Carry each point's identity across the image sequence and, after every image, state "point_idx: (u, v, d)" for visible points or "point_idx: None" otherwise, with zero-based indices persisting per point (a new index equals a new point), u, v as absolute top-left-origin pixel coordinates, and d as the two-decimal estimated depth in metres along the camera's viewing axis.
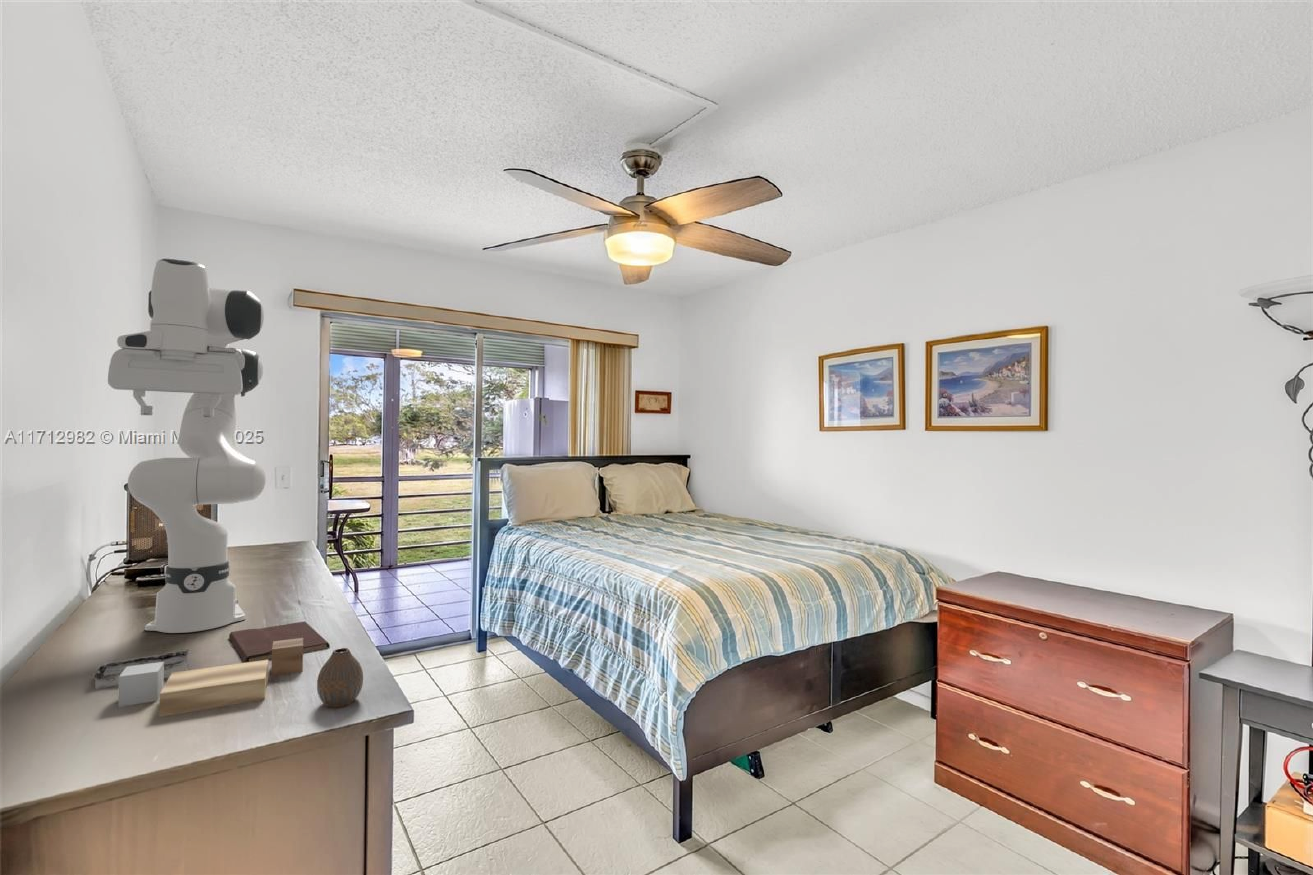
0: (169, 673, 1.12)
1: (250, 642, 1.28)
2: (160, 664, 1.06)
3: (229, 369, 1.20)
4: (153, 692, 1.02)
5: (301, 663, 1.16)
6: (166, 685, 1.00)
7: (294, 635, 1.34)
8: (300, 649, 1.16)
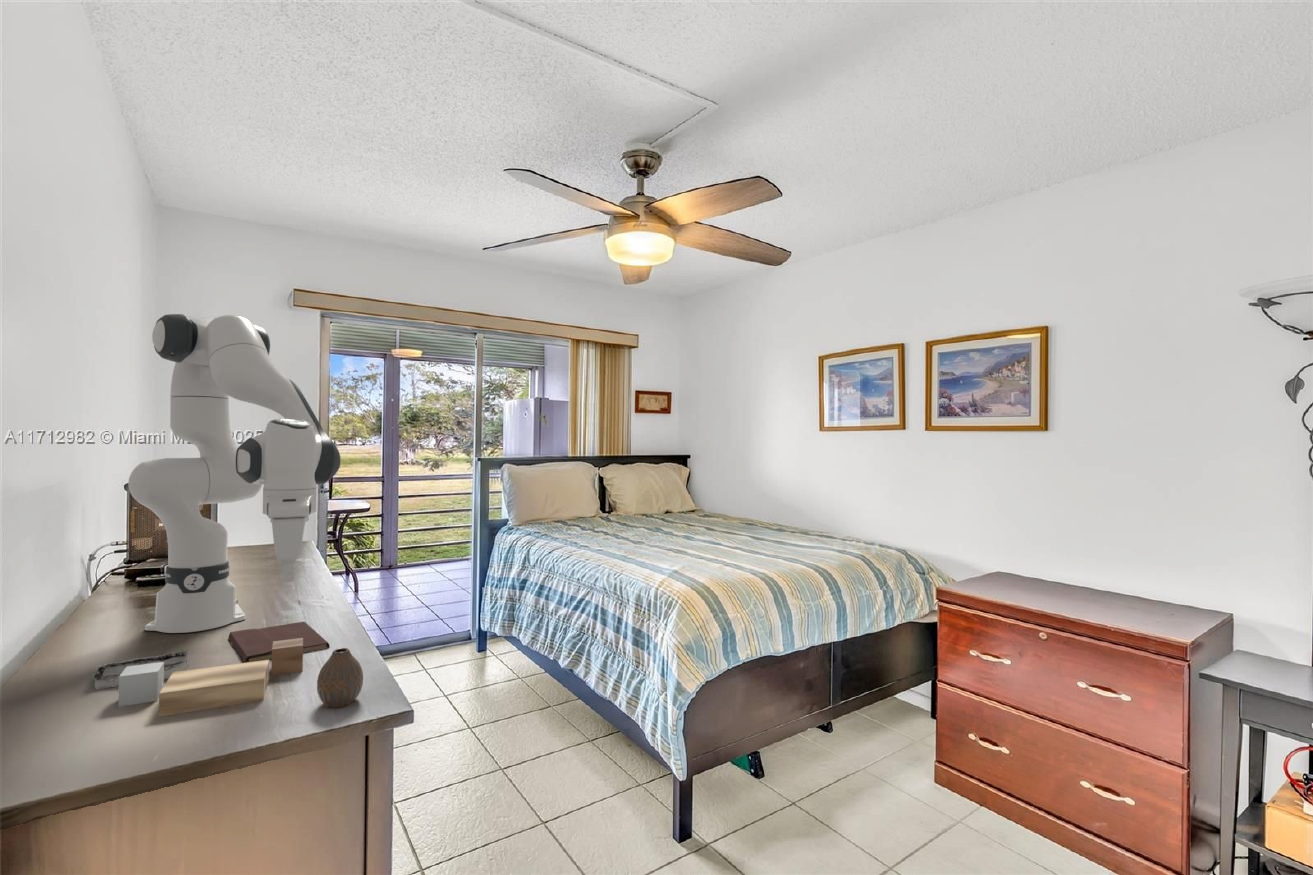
0: (169, 673, 1.12)
1: (250, 642, 1.28)
2: (160, 664, 1.06)
3: None
4: (153, 692, 1.02)
5: (301, 663, 1.16)
6: (166, 685, 1.00)
7: (294, 635, 1.34)
8: (300, 649, 1.16)
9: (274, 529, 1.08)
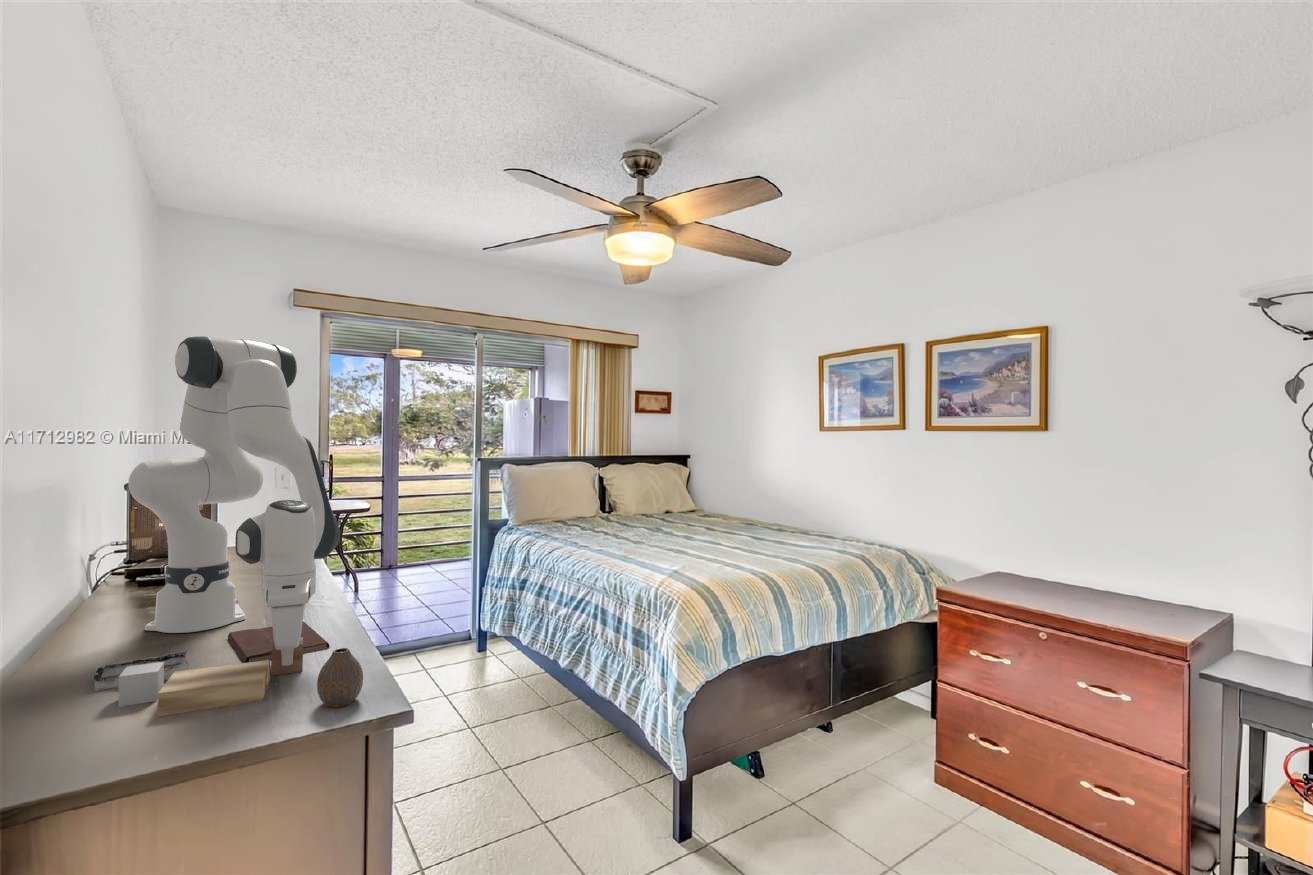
0: (169, 674, 1.12)
1: (249, 642, 1.28)
2: (160, 664, 1.06)
3: None
4: (153, 692, 1.02)
5: (301, 662, 1.16)
6: (166, 684, 1.00)
7: None
8: (300, 648, 1.16)
9: (273, 619, 1.08)
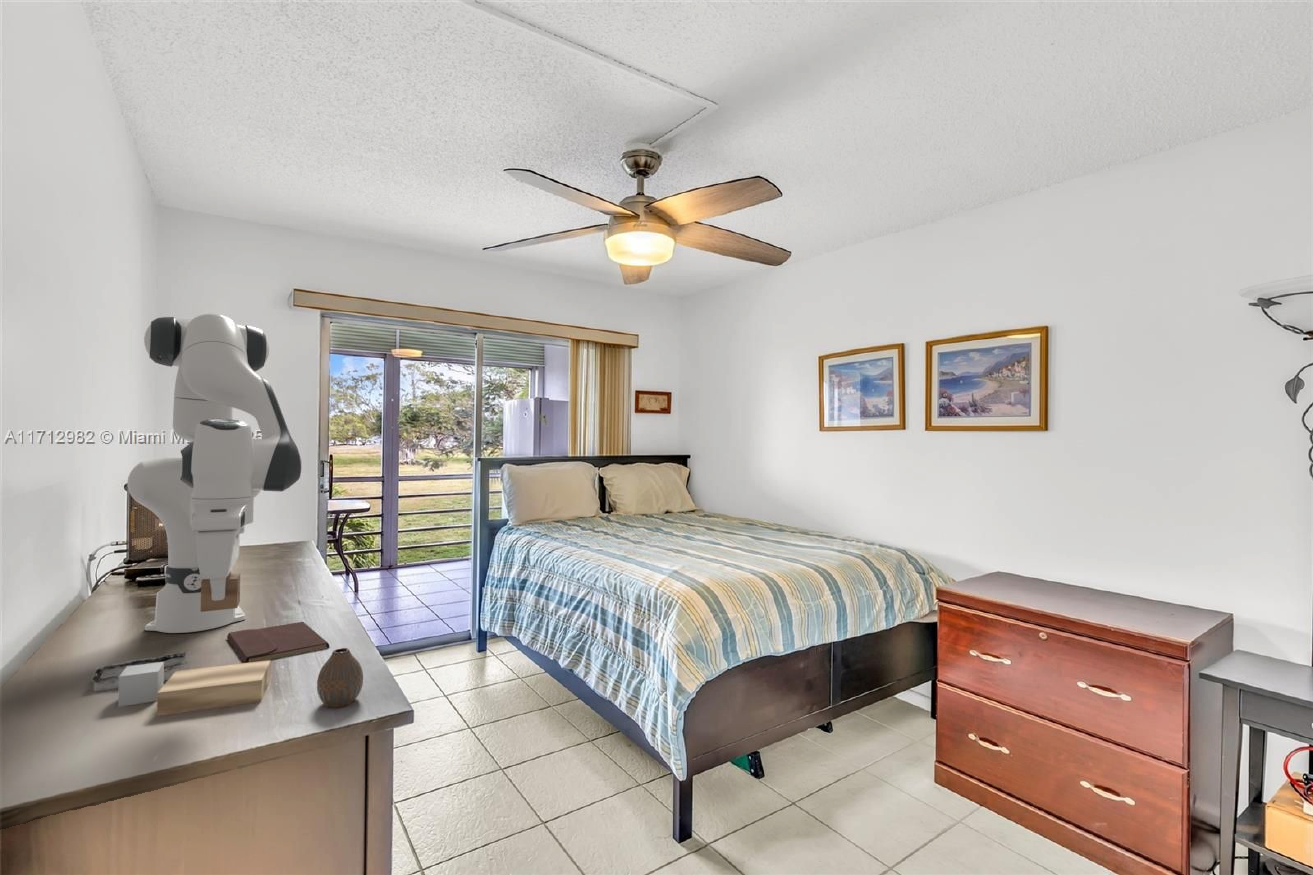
0: (169, 675, 1.11)
1: (249, 642, 1.28)
2: (160, 664, 1.06)
3: (238, 533, 1.13)
4: (153, 692, 1.02)
5: (235, 598, 1.04)
6: (166, 684, 1.01)
7: (293, 635, 1.34)
8: (235, 582, 1.04)
9: (198, 544, 0.96)
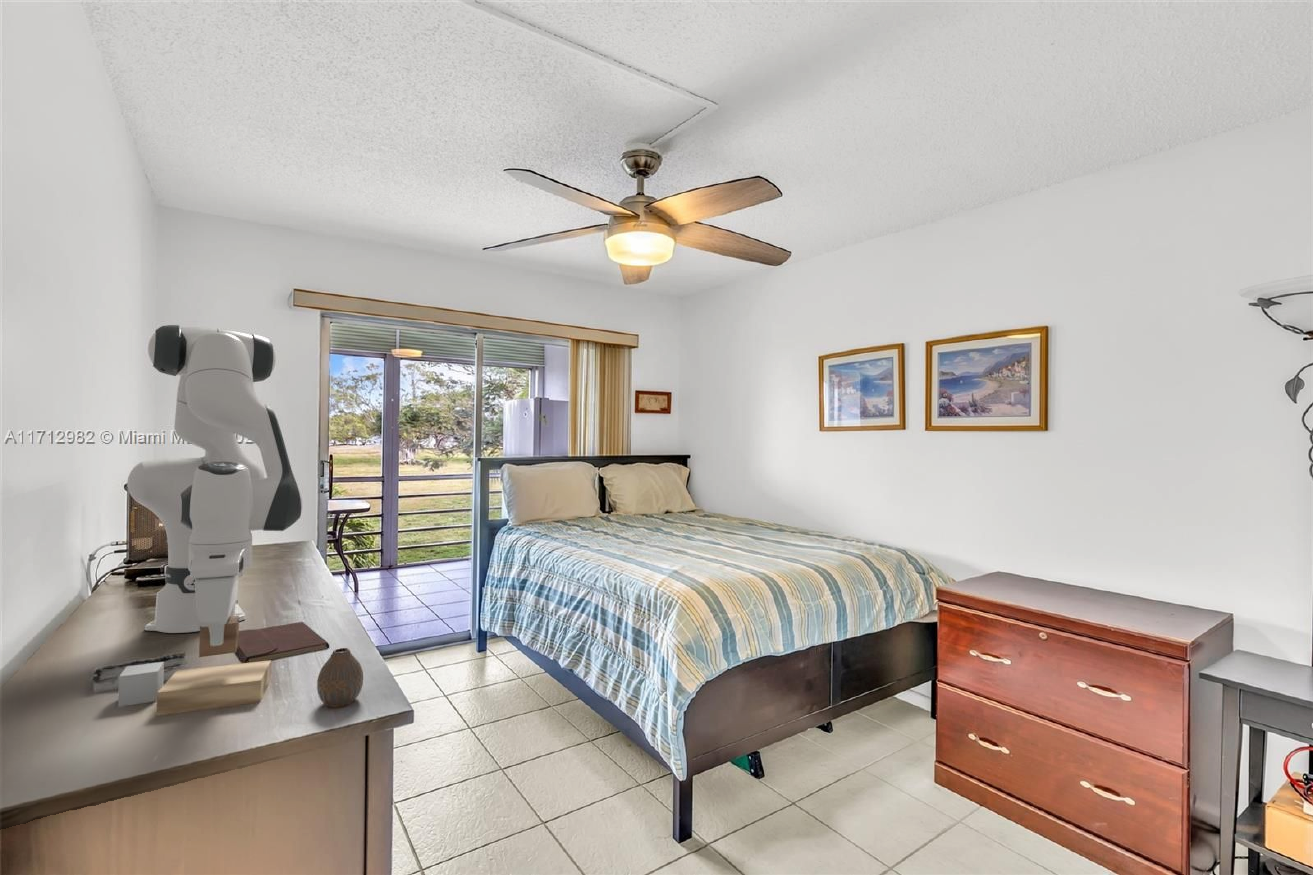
0: (169, 675, 1.11)
1: (249, 643, 1.27)
2: (160, 664, 1.06)
3: None
4: (153, 692, 1.02)
5: (234, 643, 1.04)
6: (166, 684, 1.01)
7: (293, 635, 1.34)
8: (233, 626, 1.04)
9: (197, 592, 0.96)
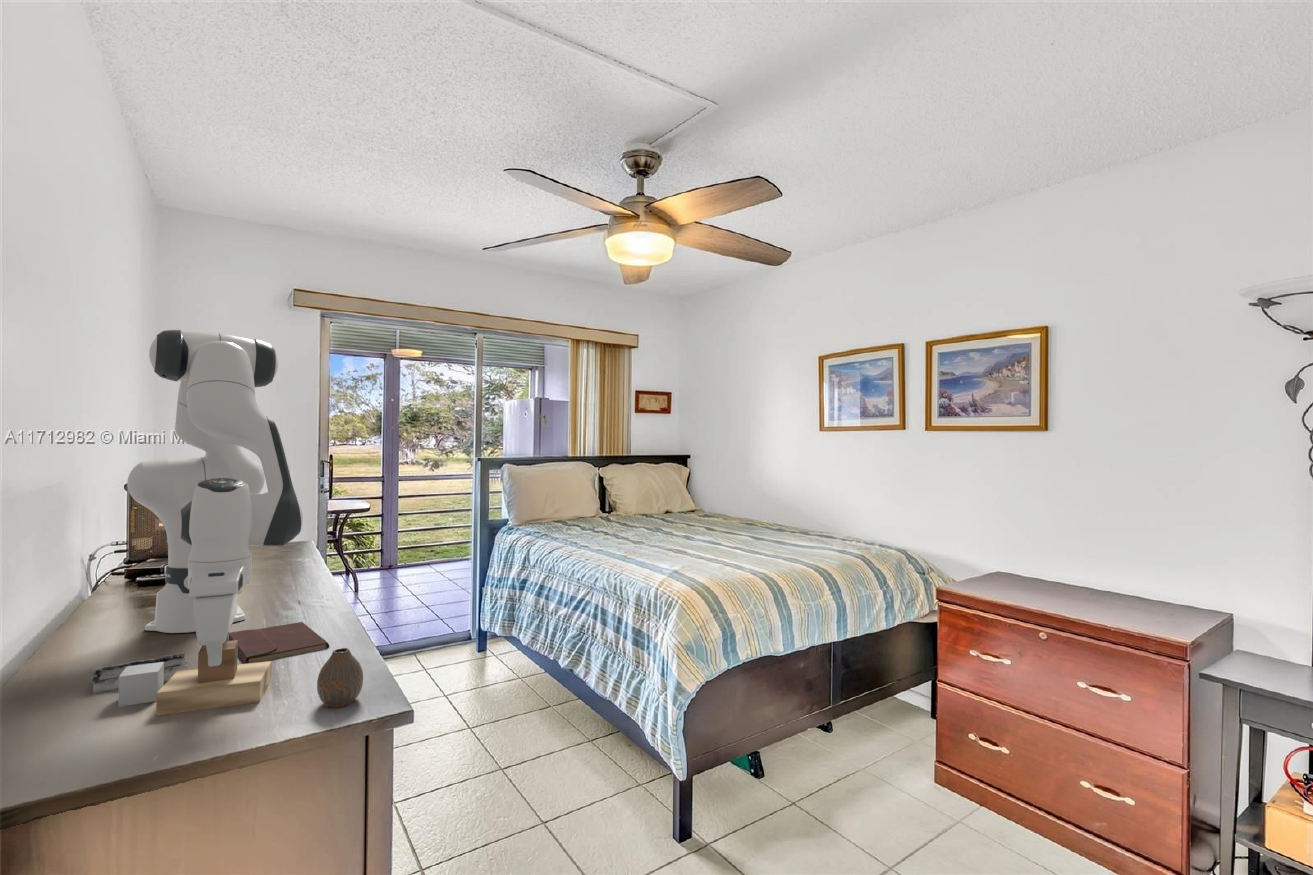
0: (169, 676, 1.11)
1: (249, 643, 1.27)
2: (160, 664, 1.06)
3: None
4: (153, 692, 1.02)
5: (233, 668, 1.04)
6: (166, 684, 1.01)
7: (293, 635, 1.34)
8: (232, 652, 1.04)
9: (196, 610, 0.96)
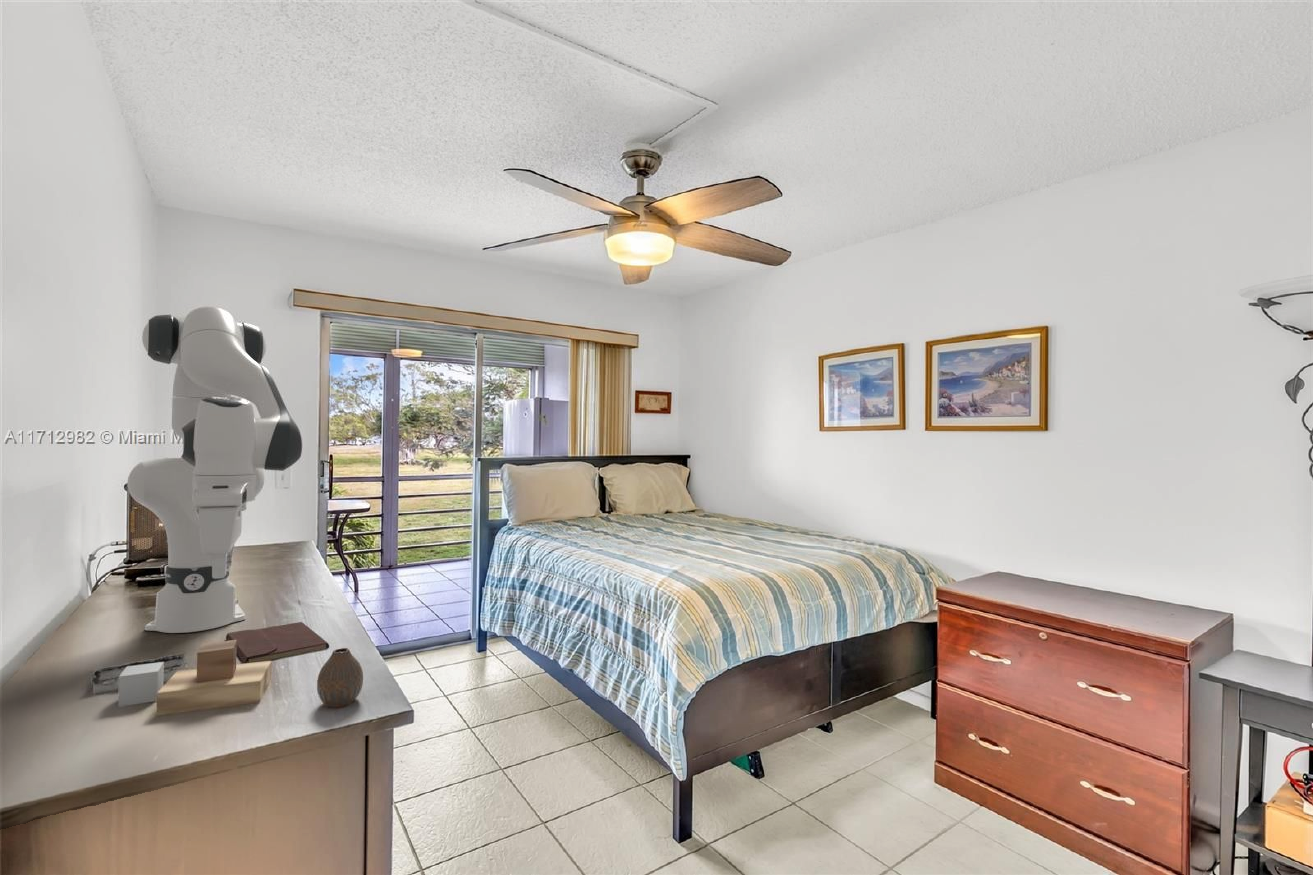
0: (169, 676, 1.11)
1: (248, 643, 1.27)
2: (160, 664, 1.06)
3: (241, 511, 1.13)
4: (153, 692, 1.02)
5: (231, 668, 1.04)
6: (166, 684, 1.01)
7: (292, 635, 1.33)
8: (231, 652, 1.04)
9: (200, 519, 0.96)
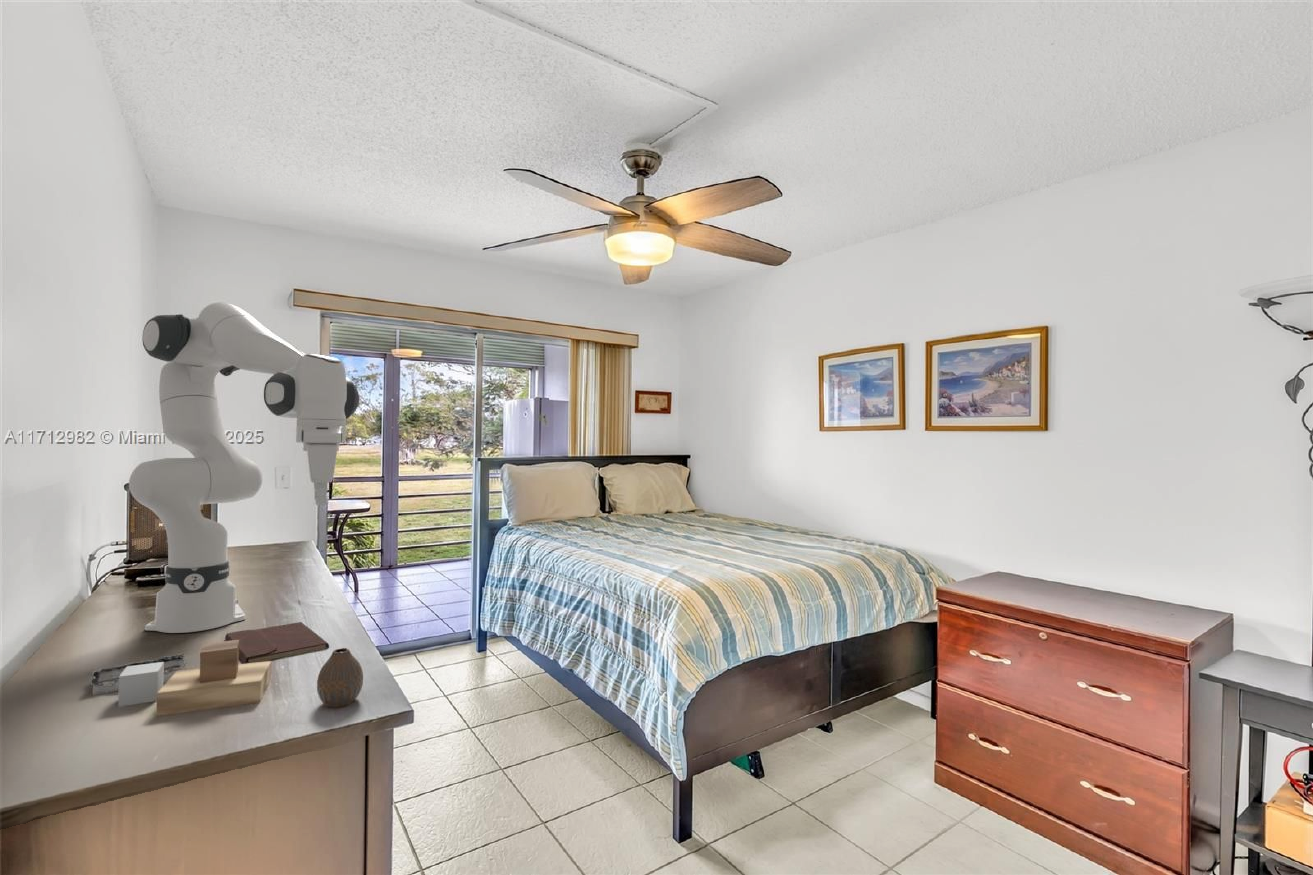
0: (169, 677, 1.10)
1: (248, 643, 1.27)
2: (160, 664, 1.06)
3: None
4: (153, 692, 1.02)
5: (235, 668, 1.04)
6: (166, 684, 1.01)
7: (292, 635, 1.33)
8: (234, 652, 1.04)
9: (309, 453, 1.15)
